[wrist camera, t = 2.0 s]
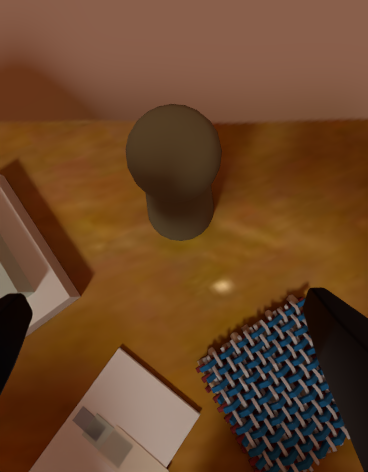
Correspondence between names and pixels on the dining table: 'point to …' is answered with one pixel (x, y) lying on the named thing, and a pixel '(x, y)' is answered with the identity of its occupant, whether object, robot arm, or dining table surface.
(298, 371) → the woven mat
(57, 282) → the tower base
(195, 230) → the brown tapered knobbed post
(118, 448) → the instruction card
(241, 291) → the dining table surface
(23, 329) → the robot arm
